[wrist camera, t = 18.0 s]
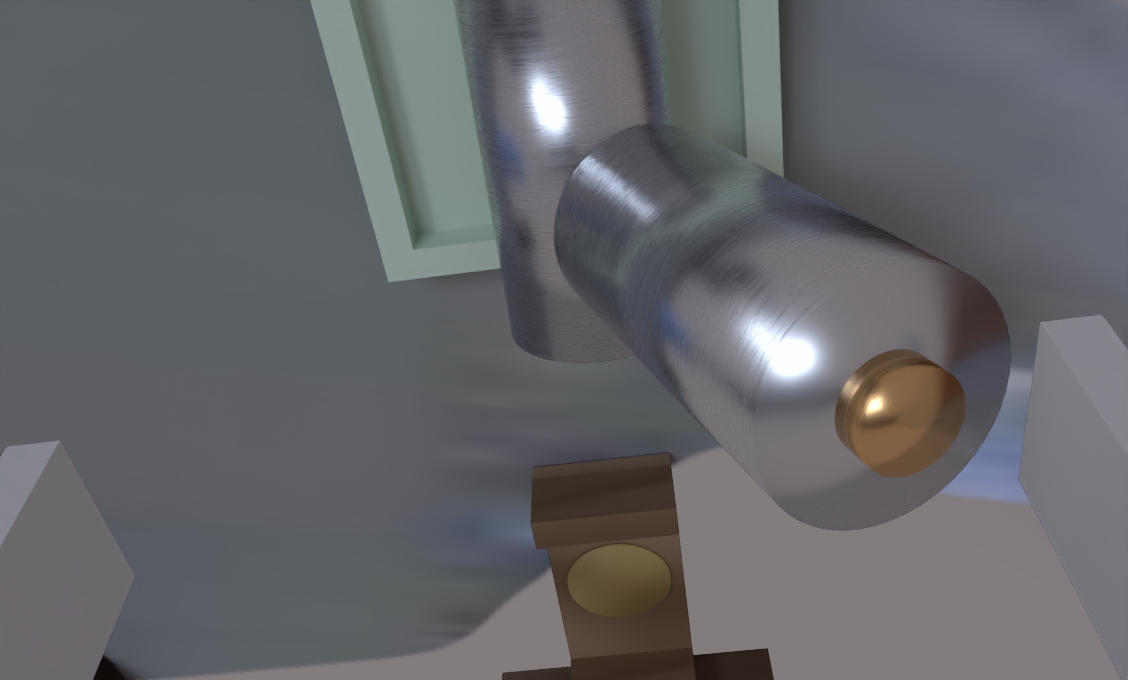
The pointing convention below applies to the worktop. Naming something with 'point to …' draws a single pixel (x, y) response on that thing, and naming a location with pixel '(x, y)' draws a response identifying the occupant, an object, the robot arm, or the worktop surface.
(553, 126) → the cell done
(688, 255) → the cell
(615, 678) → the brown wooden stand
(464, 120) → the pale green tray
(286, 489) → the worktop surface
